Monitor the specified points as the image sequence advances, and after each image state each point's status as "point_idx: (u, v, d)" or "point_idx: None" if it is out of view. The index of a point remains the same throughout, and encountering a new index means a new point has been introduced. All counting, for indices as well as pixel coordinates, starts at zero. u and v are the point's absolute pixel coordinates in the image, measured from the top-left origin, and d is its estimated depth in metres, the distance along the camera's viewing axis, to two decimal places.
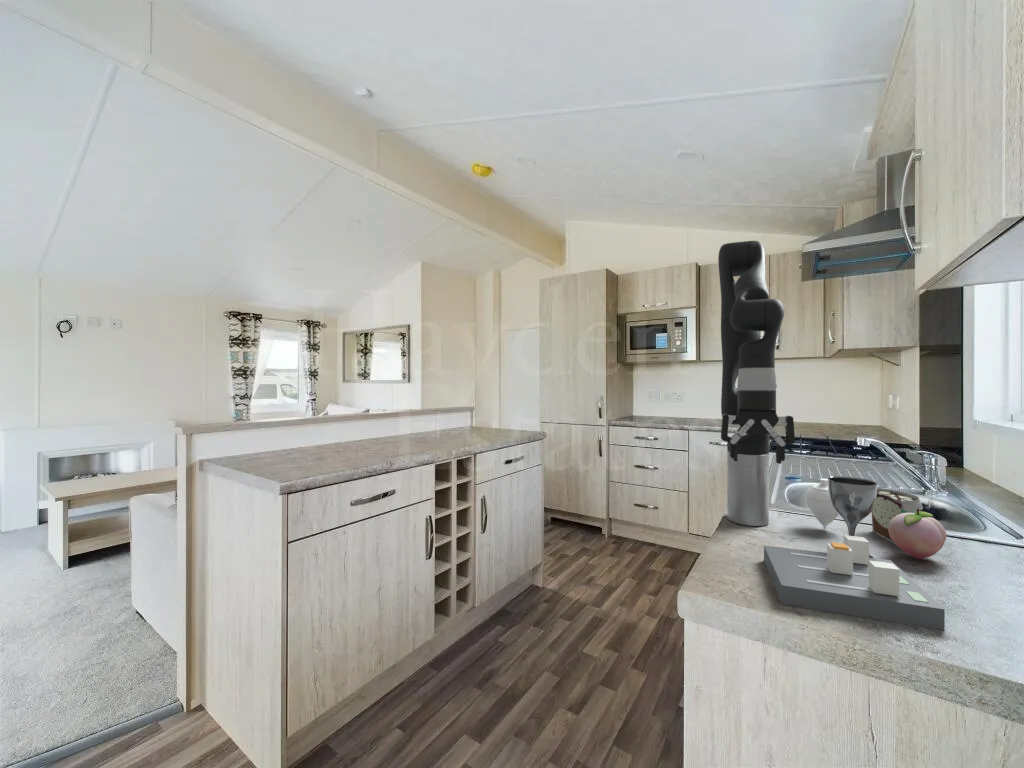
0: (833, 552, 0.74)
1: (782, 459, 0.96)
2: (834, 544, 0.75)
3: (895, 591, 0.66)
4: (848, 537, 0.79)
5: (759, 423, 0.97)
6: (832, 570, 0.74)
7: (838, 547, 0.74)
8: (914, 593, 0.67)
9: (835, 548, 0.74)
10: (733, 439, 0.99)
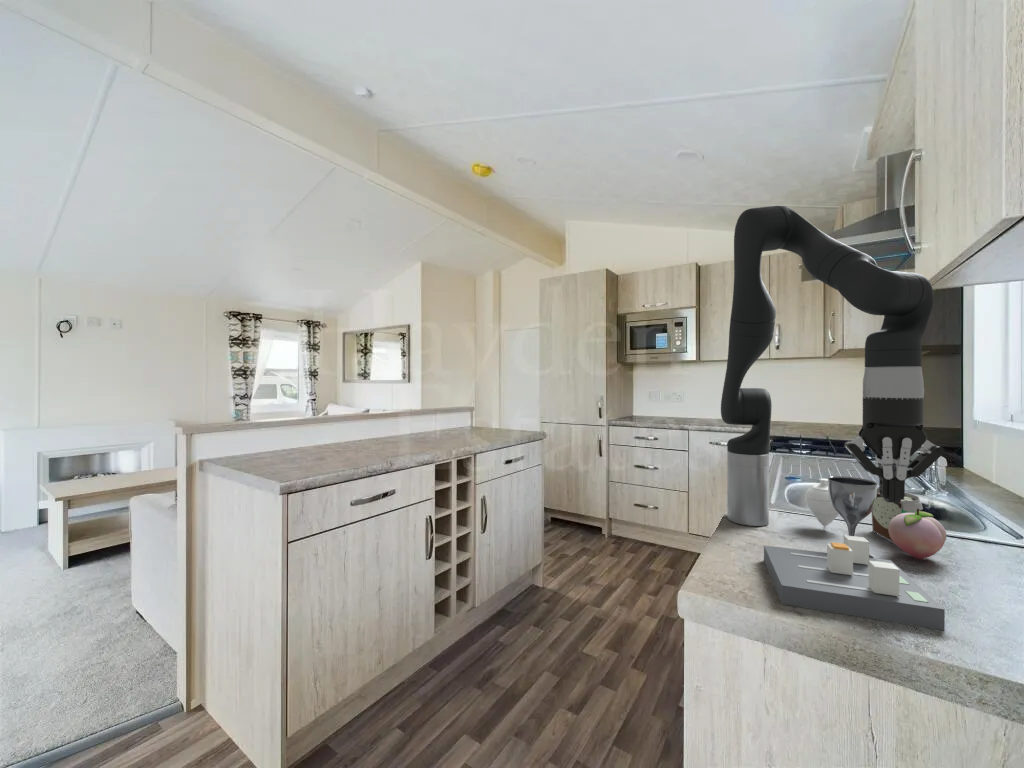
0: (833, 552, 0.74)
1: (901, 497, 0.71)
2: (834, 544, 0.75)
3: (895, 591, 0.66)
4: (848, 537, 0.79)
5: (898, 443, 0.71)
6: (832, 570, 0.74)
7: (838, 547, 0.74)
8: (914, 593, 0.67)
9: (835, 548, 0.74)
10: (888, 472, 0.71)
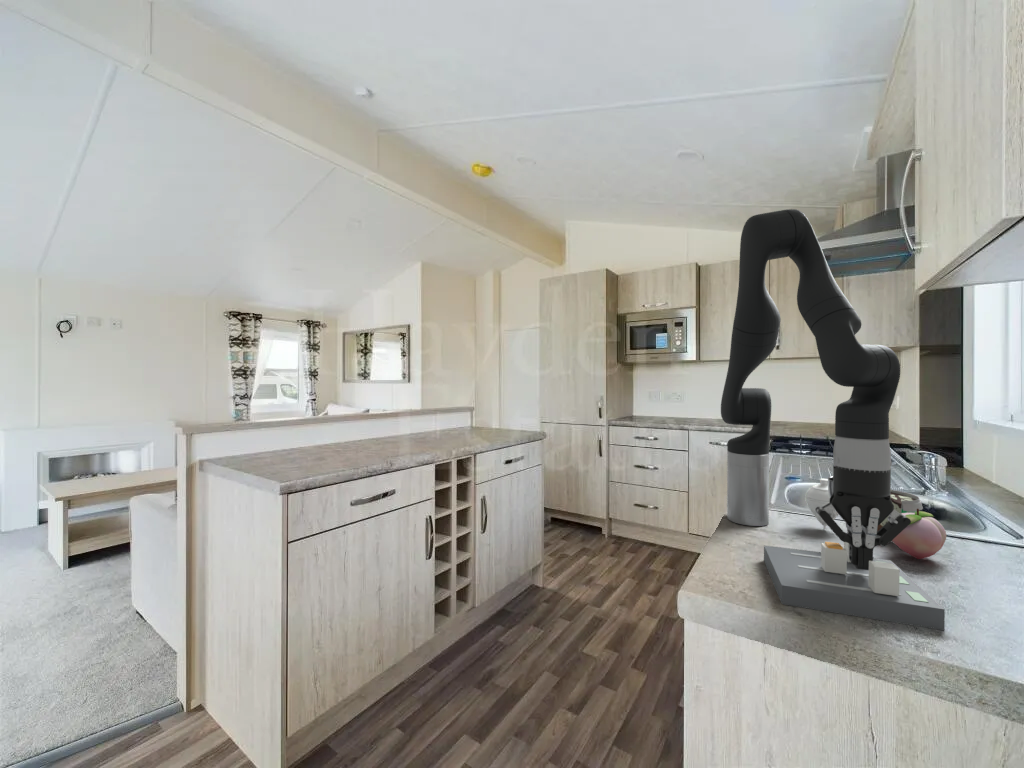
0: (827, 552, 0.74)
1: None
2: (828, 543, 0.75)
3: (895, 591, 0.66)
4: None
5: (866, 512, 0.72)
6: (826, 569, 0.74)
7: (832, 546, 0.74)
8: (914, 593, 0.67)
9: (829, 547, 0.74)
10: (857, 540, 0.73)
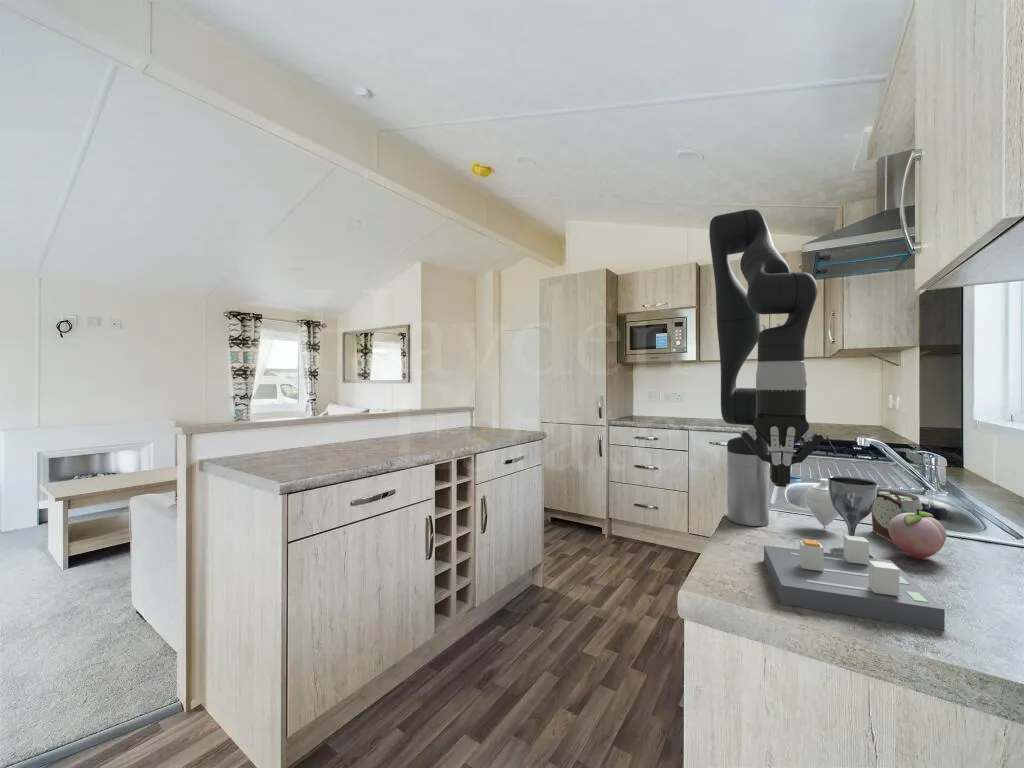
0: (805, 549, 0.76)
1: (787, 482, 0.77)
2: (806, 541, 0.77)
3: (895, 591, 0.66)
4: (848, 537, 0.79)
5: (784, 431, 0.77)
6: (803, 566, 0.76)
7: (809, 544, 0.76)
8: (914, 593, 0.67)
9: (806, 545, 0.76)
10: (776, 459, 0.77)
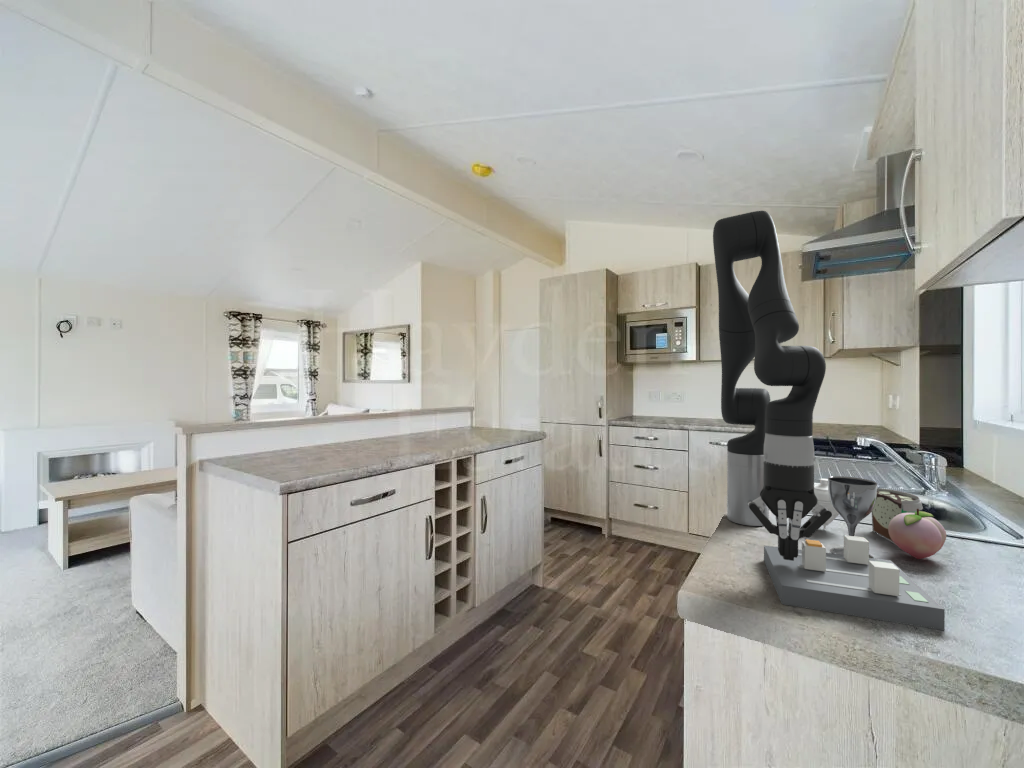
0: (807, 549, 0.75)
1: (795, 555, 0.76)
2: (808, 541, 0.76)
3: (895, 591, 0.66)
4: (848, 537, 0.79)
5: (792, 505, 0.76)
6: (806, 567, 0.76)
7: (811, 544, 0.75)
8: (914, 593, 0.67)
9: (809, 545, 0.75)
10: (783, 532, 0.77)
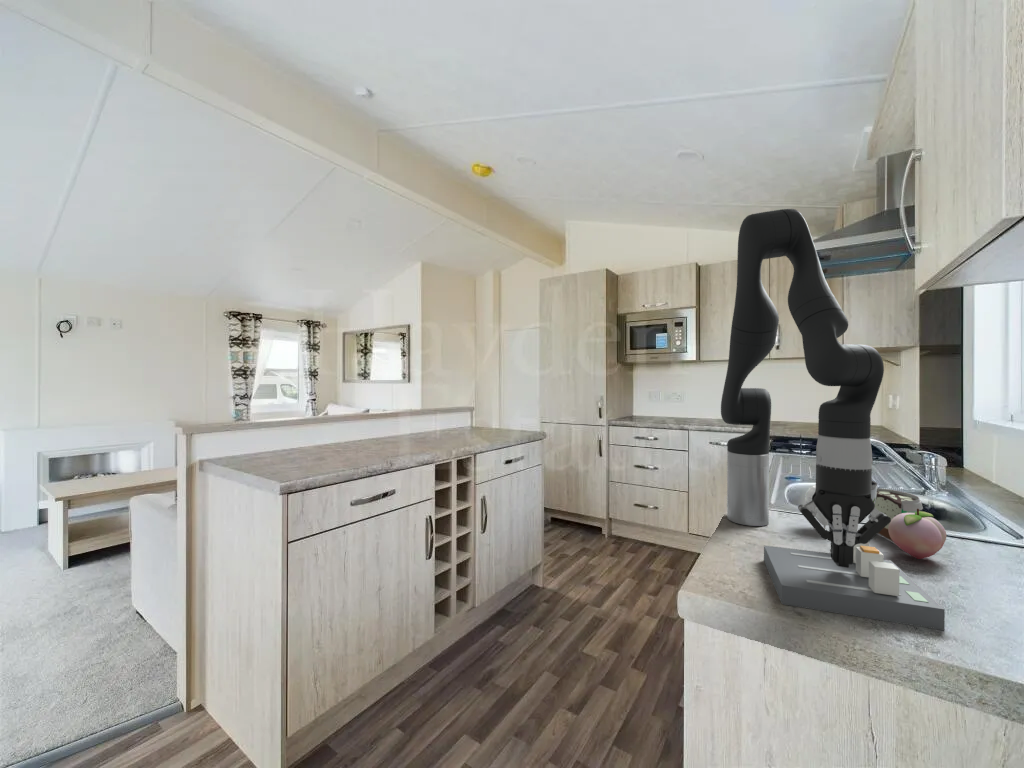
0: (863, 556, 0.73)
1: (850, 562, 0.74)
2: (863, 547, 0.73)
3: (895, 591, 0.66)
4: None
5: (847, 510, 0.73)
6: (862, 574, 0.73)
7: (868, 550, 0.72)
8: (914, 593, 0.67)
9: (865, 551, 0.73)
10: (838, 538, 0.74)
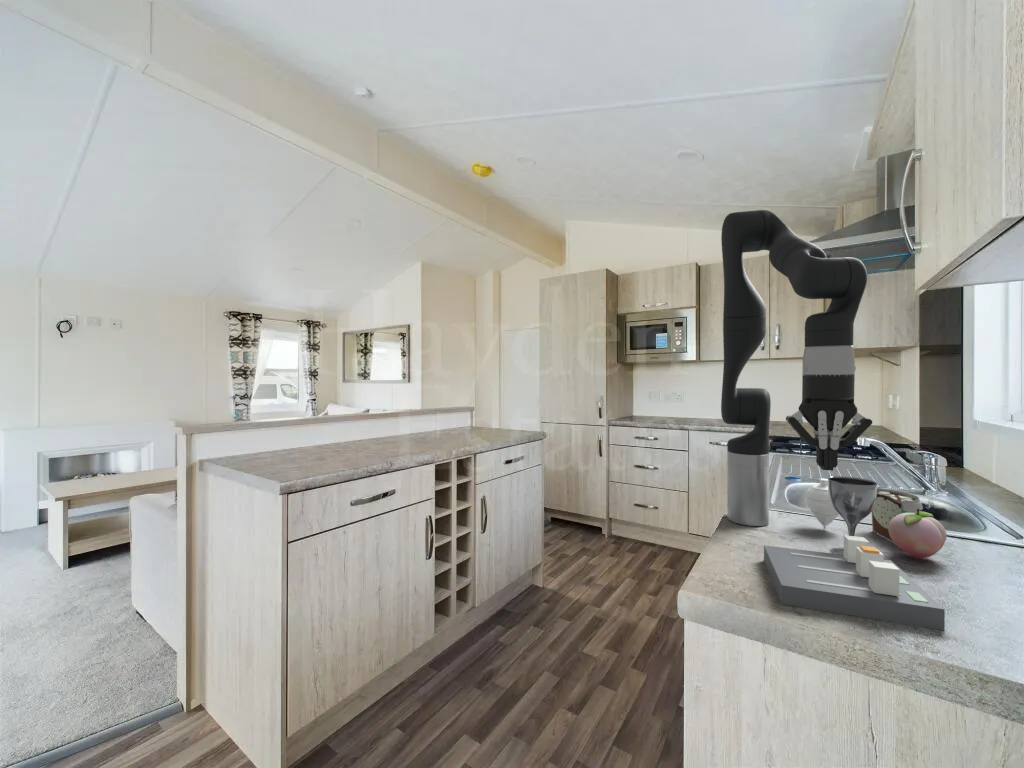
0: (863, 556, 0.73)
1: (834, 465, 0.78)
2: (863, 547, 0.73)
3: (895, 591, 0.66)
4: (848, 537, 0.79)
5: (832, 415, 0.77)
6: (862, 574, 0.73)
7: (868, 550, 0.72)
8: (914, 593, 0.67)
9: (865, 551, 0.73)
10: (823, 443, 0.78)
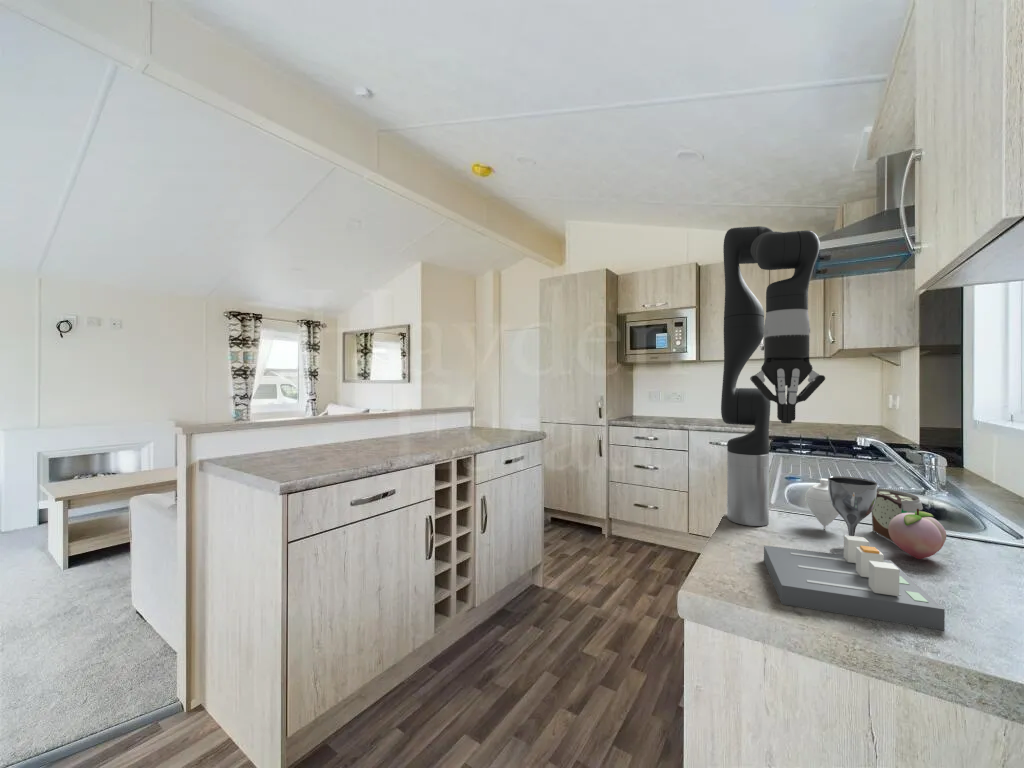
0: (863, 556, 0.73)
1: (792, 418, 0.86)
2: (863, 547, 0.73)
3: (895, 591, 0.66)
4: (848, 537, 0.79)
5: (790, 373, 0.86)
6: (862, 574, 0.73)
7: (868, 550, 0.72)
8: (914, 593, 0.67)
9: (865, 551, 0.73)
10: (782, 398, 0.86)
